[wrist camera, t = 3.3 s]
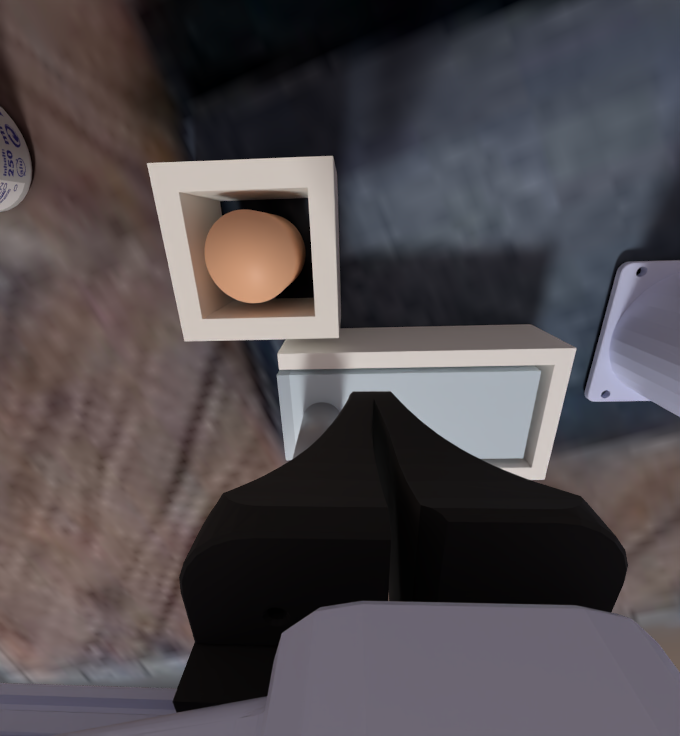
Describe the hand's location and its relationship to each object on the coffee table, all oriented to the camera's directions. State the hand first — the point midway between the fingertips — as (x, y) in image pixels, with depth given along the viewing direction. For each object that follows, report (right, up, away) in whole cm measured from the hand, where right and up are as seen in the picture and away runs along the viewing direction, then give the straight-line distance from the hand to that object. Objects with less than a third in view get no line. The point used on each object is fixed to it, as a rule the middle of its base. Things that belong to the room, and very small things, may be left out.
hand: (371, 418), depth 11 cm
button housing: (-5, +8, +7) cm, 11 cm away
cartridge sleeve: (+3, +1, +10) cm, 10 cm away
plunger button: (-5, +8, +6) cm, 11 cm away
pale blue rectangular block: (+3, +1, +10) cm, 10 cm away
